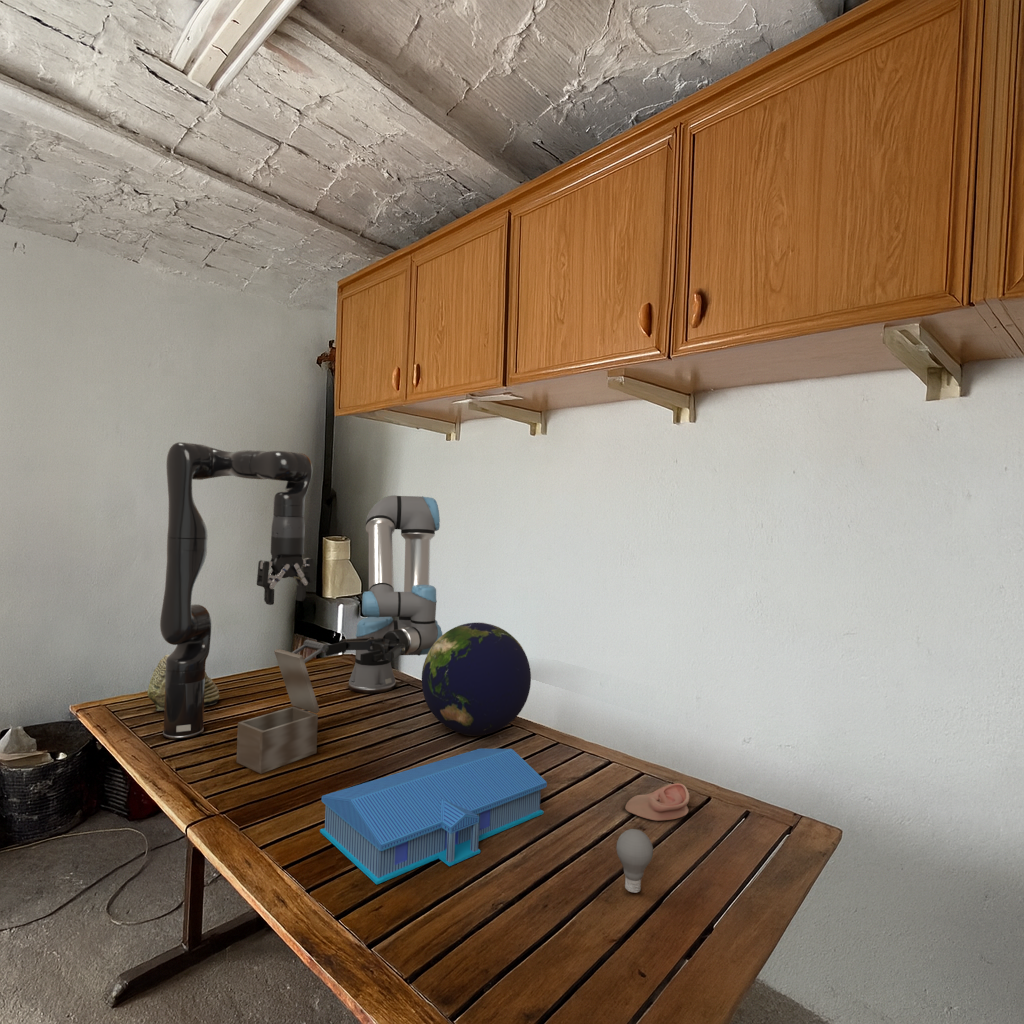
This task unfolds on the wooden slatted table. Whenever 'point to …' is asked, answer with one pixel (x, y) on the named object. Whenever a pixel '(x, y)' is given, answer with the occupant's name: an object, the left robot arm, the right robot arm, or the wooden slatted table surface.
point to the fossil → (158, 687)
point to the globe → (476, 679)
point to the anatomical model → (661, 803)
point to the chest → (276, 739)
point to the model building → (431, 811)
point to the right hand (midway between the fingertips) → (343, 655)
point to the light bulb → (634, 857)
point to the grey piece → (299, 675)
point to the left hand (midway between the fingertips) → (285, 602)
